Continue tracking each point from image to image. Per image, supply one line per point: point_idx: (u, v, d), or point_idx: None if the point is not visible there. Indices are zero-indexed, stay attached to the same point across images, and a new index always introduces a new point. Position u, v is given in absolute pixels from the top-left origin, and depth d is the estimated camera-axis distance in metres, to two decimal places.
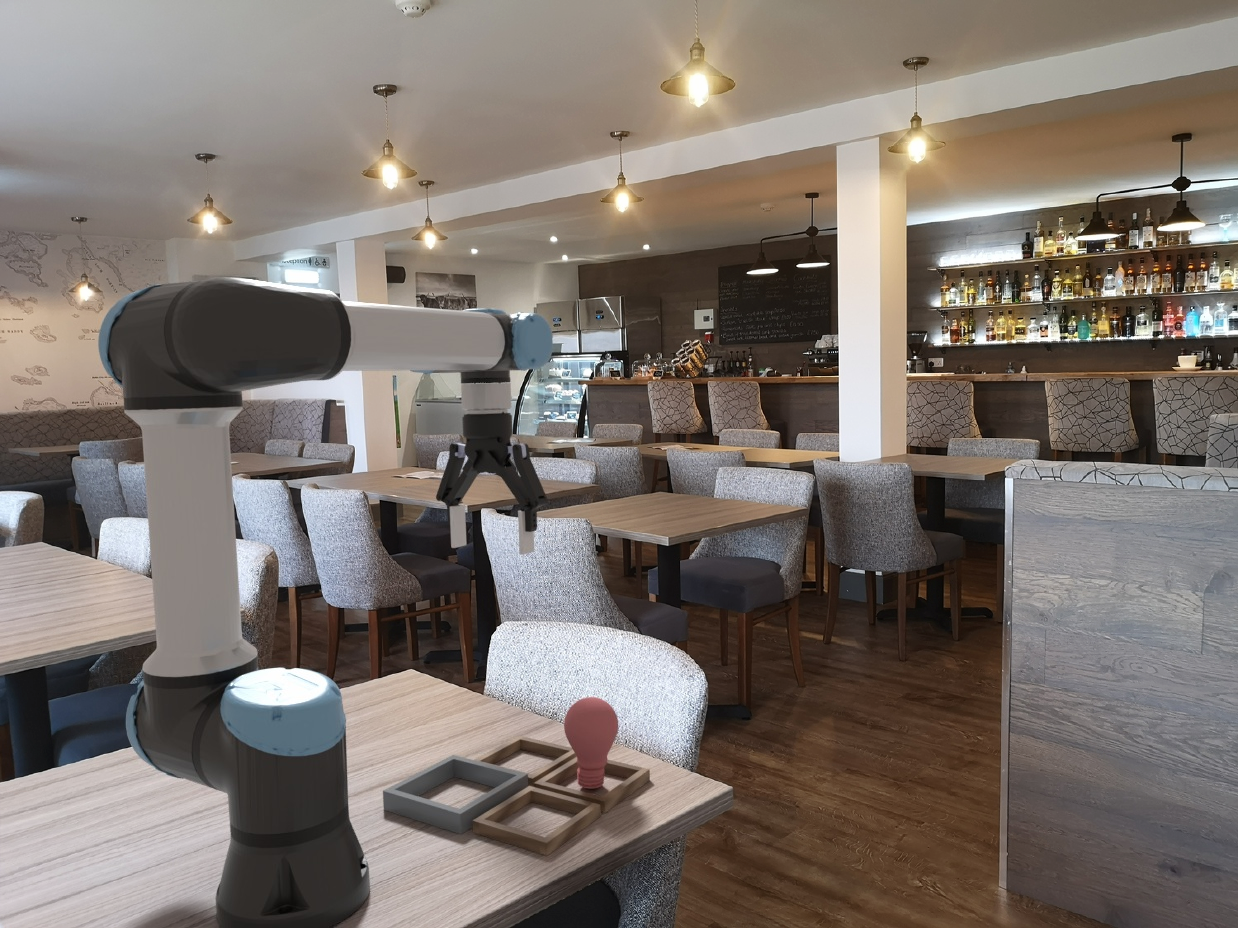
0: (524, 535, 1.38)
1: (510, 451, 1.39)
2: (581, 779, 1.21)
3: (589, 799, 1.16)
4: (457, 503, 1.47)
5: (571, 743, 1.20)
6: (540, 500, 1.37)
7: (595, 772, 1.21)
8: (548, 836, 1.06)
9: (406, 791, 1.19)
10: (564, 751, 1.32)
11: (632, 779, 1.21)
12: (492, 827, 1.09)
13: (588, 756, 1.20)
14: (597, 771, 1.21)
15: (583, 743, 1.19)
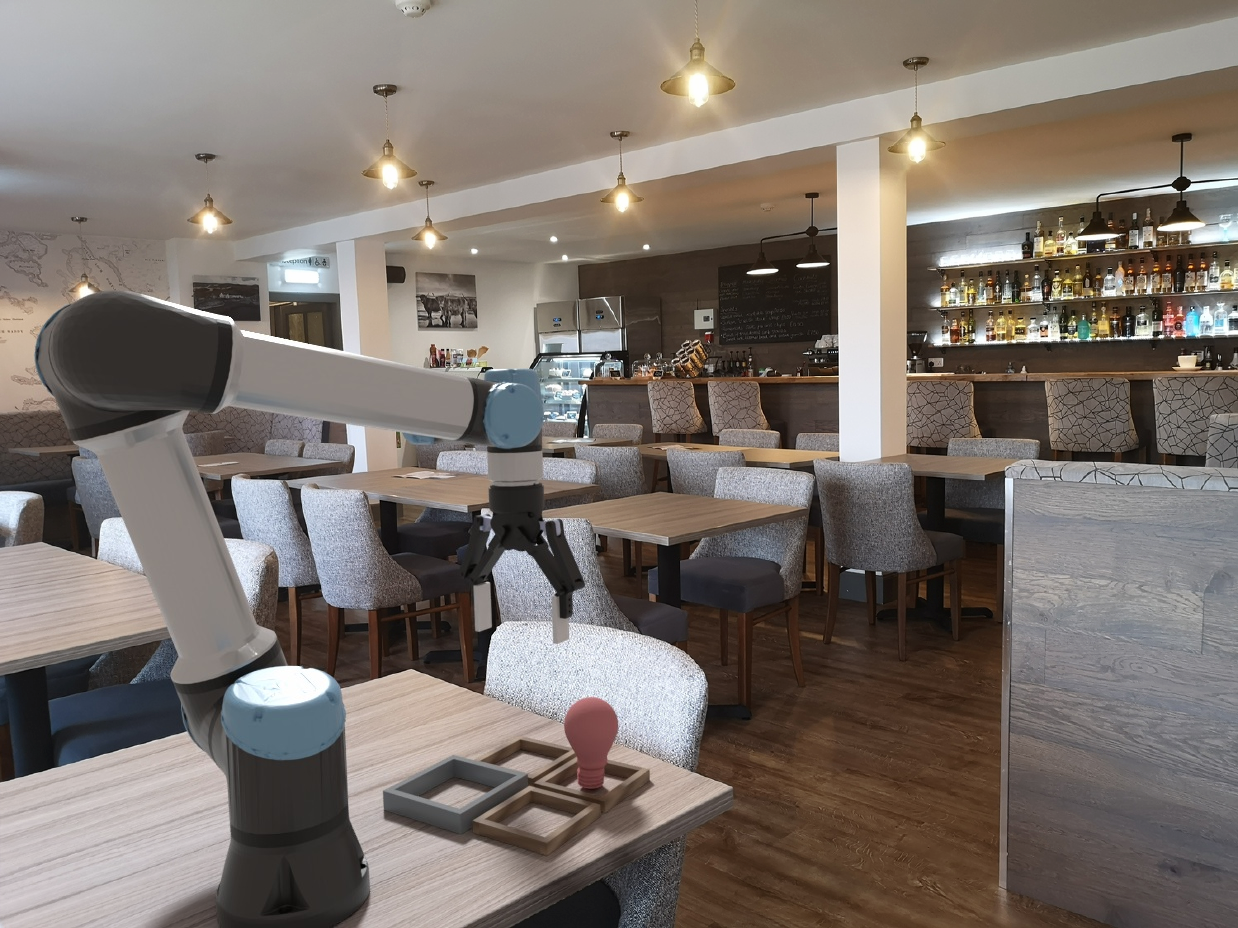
0: (558, 622, 1.23)
1: (542, 527, 1.24)
2: (581, 779, 1.21)
3: (589, 799, 1.16)
4: (481, 581, 1.32)
5: (571, 743, 1.20)
6: (577, 584, 1.22)
7: (595, 772, 1.21)
8: (548, 836, 1.06)
9: (406, 791, 1.19)
10: (564, 751, 1.32)
11: (632, 779, 1.21)
12: (492, 827, 1.09)
13: (588, 756, 1.20)
14: (597, 771, 1.21)
15: (583, 743, 1.19)
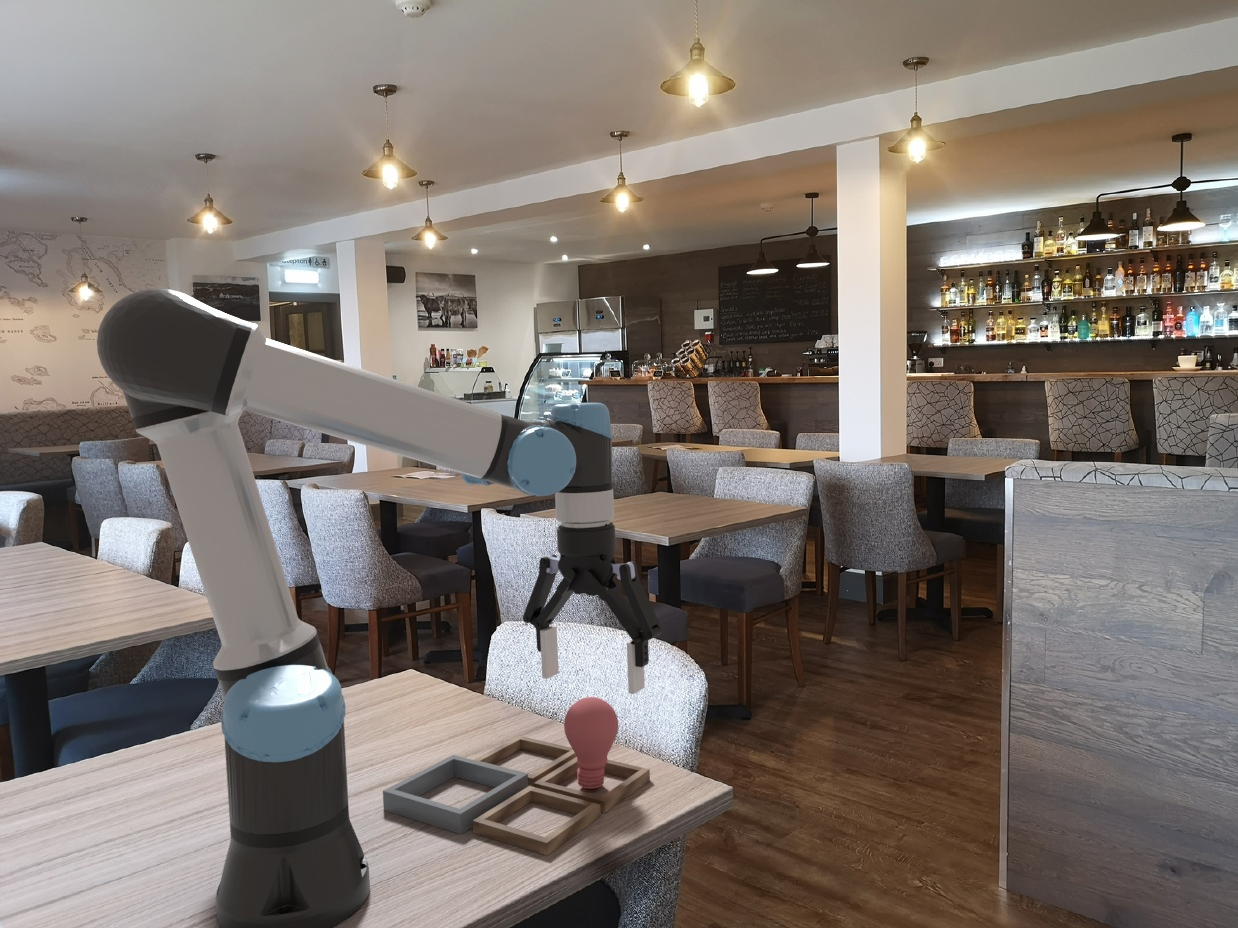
0: (634, 671, 1.17)
1: (615, 571, 1.17)
2: (581, 779, 1.21)
3: (589, 799, 1.16)
4: (548, 625, 1.25)
5: (571, 743, 1.20)
6: (654, 631, 1.15)
7: (595, 772, 1.21)
8: (548, 836, 1.06)
9: (406, 791, 1.19)
10: (564, 751, 1.32)
11: (632, 779, 1.21)
12: (492, 827, 1.09)
13: (588, 756, 1.20)
14: (597, 771, 1.21)
15: (583, 743, 1.19)
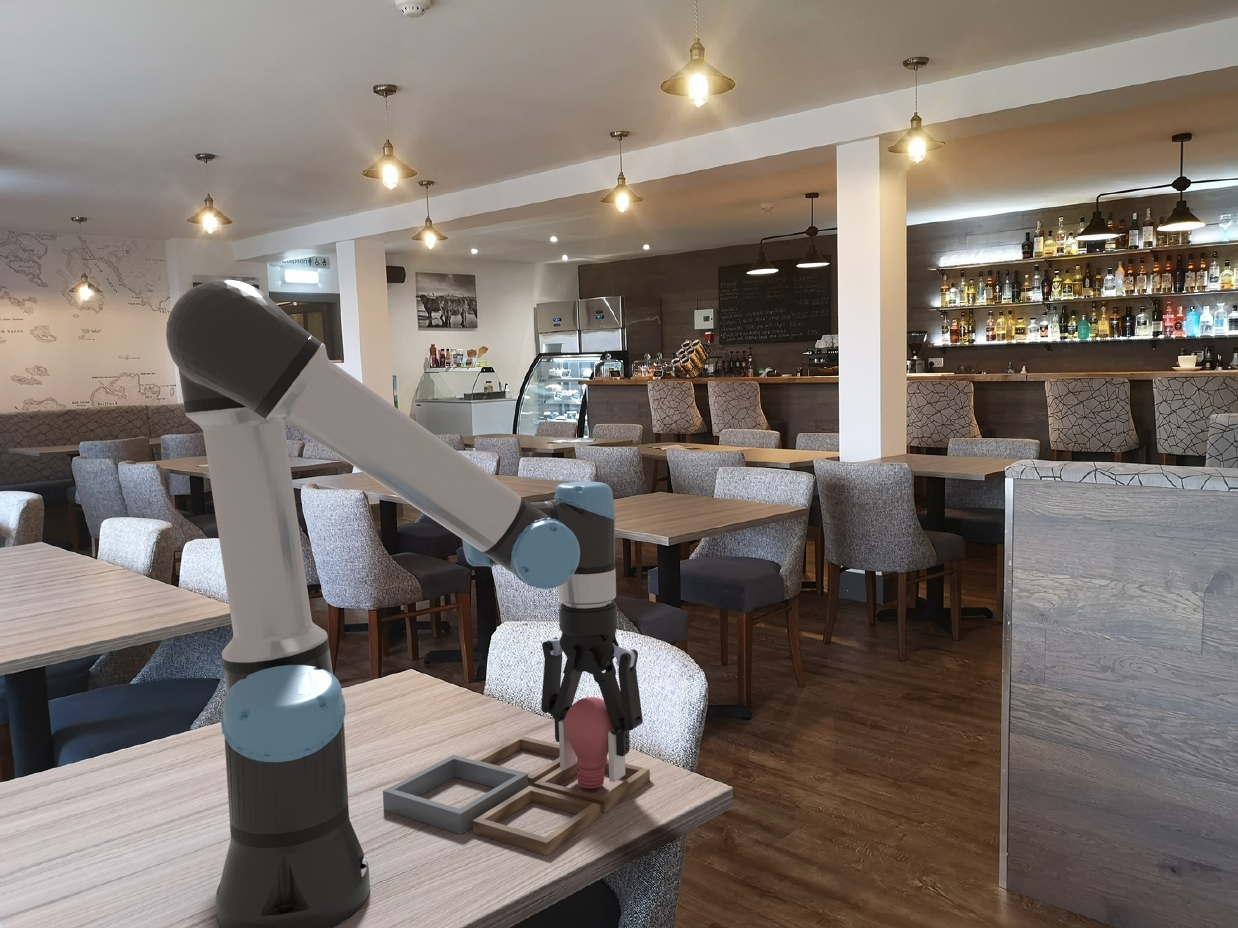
0: (615, 760, 1.19)
1: (616, 655, 1.18)
2: (581, 779, 1.21)
3: (589, 799, 1.16)
4: None
5: (571, 743, 1.20)
6: (635, 723, 1.18)
7: (595, 772, 1.21)
8: (548, 836, 1.06)
9: (406, 791, 1.19)
10: None
11: (632, 779, 1.21)
12: (492, 827, 1.09)
13: (588, 756, 1.20)
14: (597, 771, 1.21)
15: (583, 743, 1.19)
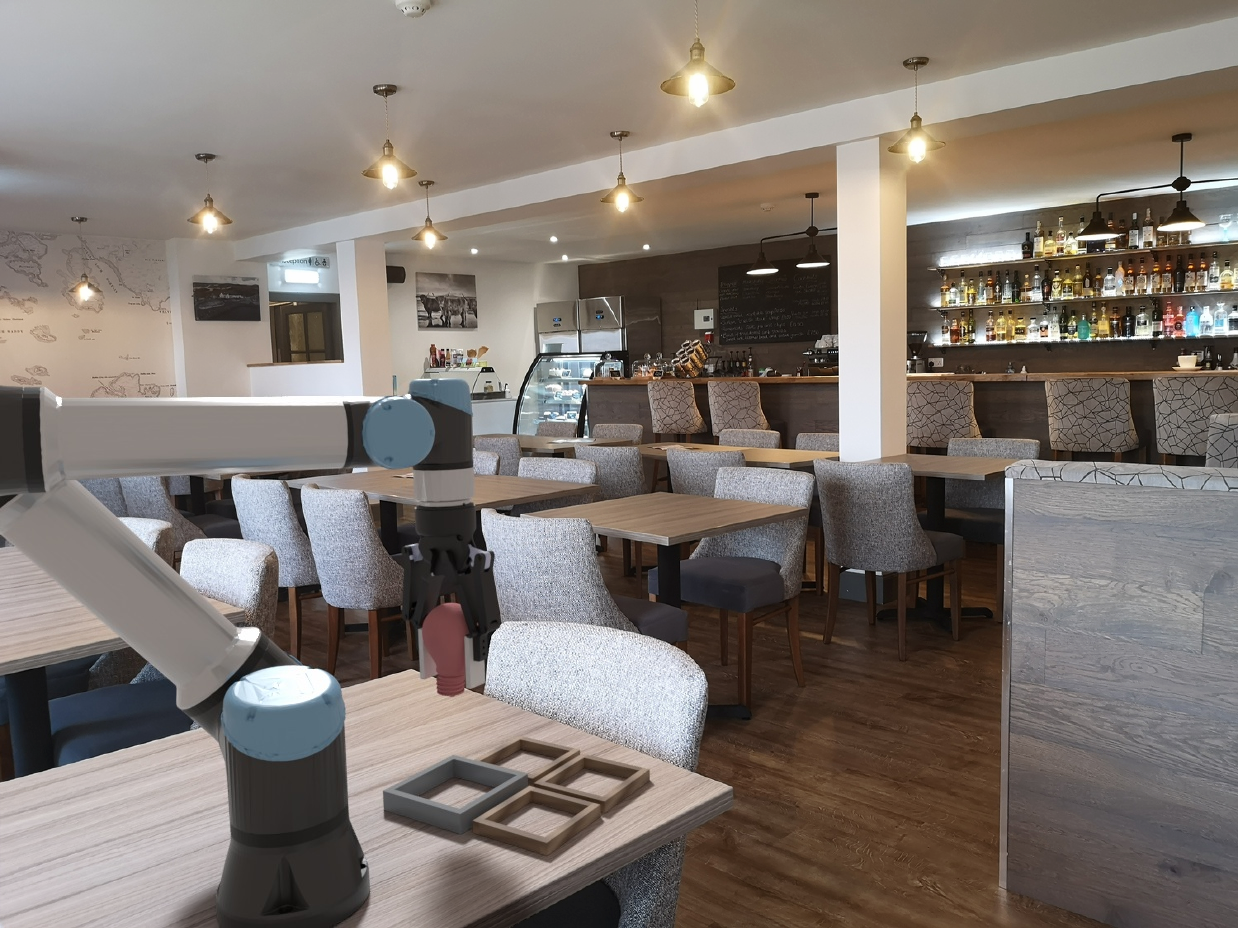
0: (471, 666, 1.15)
1: (472, 556, 1.14)
2: (439, 687, 1.17)
3: (589, 799, 1.16)
4: None
5: (428, 649, 1.16)
6: (491, 626, 1.13)
7: (453, 679, 1.16)
8: (548, 836, 1.06)
9: (406, 791, 1.19)
10: (564, 751, 1.32)
11: (632, 779, 1.21)
12: (492, 827, 1.09)
13: (445, 662, 1.16)
14: (455, 678, 1.16)
15: (438, 647, 1.15)
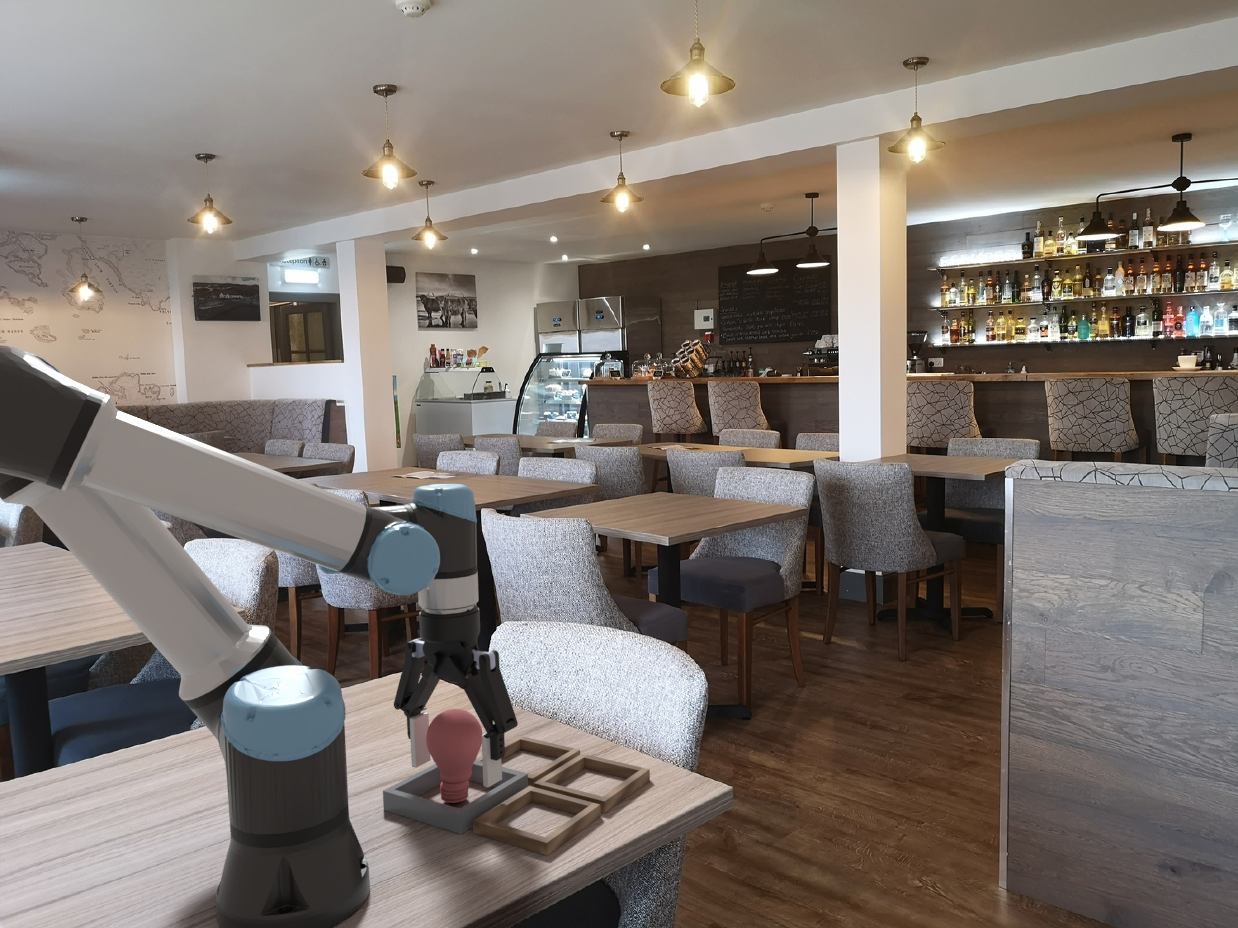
0: (488, 764, 1.15)
1: (476, 659, 1.15)
2: (443, 793, 1.18)
3: (589, 799, 1.16)
4: (419, 711, 1.22)
5: (432, 756, 1.17)
6: (508, 725, 1.13)
7: (457, 786, 1.18)
8: (548, 836, 1.06)
9: (406, 791, 1.19)
10: (564, 751, 1.32)
11: (632, 779, 1.21)
12: (492, 827, 1.09)
13: (449, 769, 1.17)
14: (459, 784, 1.18)
15: (442, 756, 1.16)
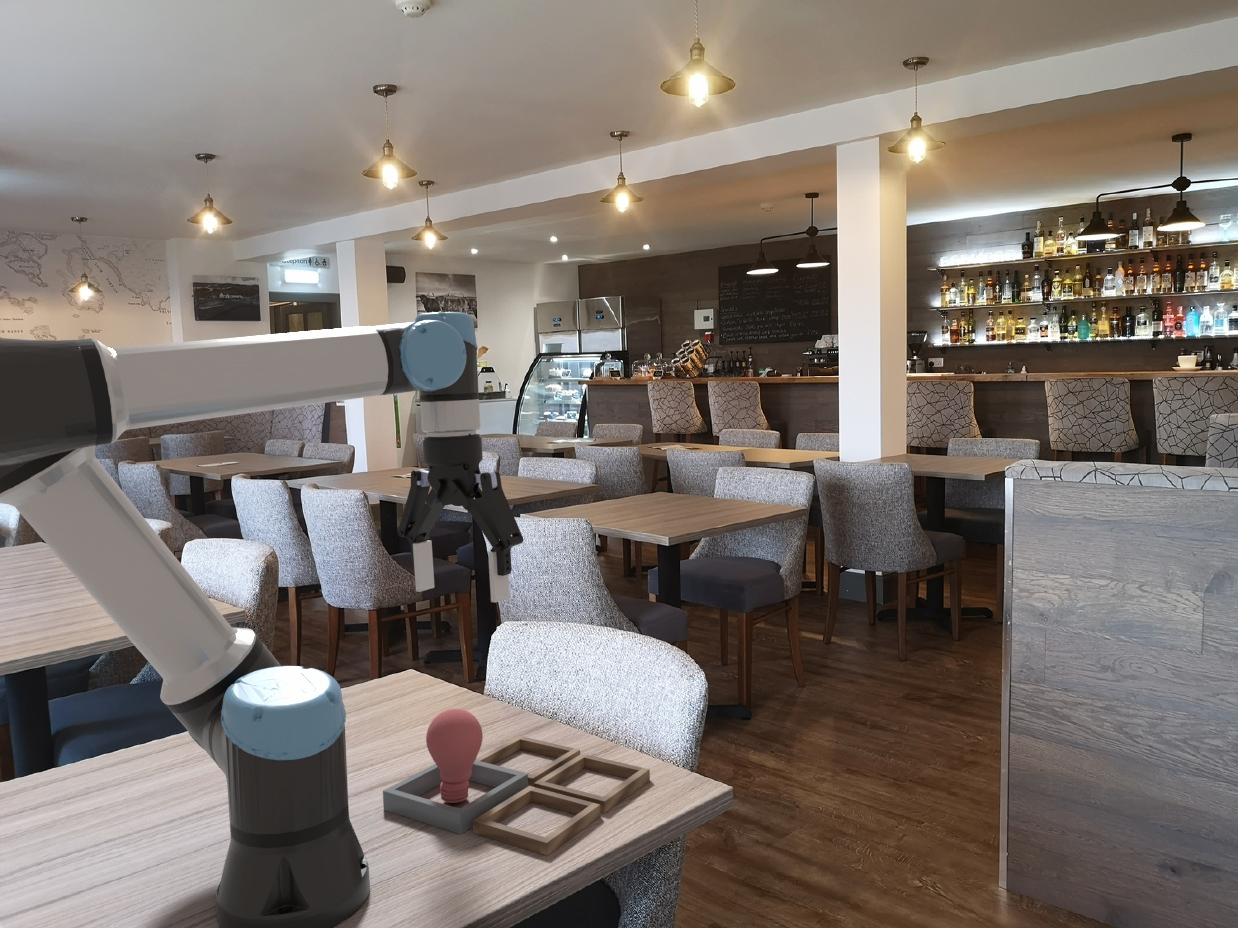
0: (495, 580, 1.17)
1: (478, 480, 1.18)
2: (443, 793, 1.18)
3: (589, 799, 1.16)
4: (422, 539, 1.26)
5: (432, 756, 1.17)
6: (513, 539, 1.15)
7: (457, 786, 1.18)
8: (548, 836, 1.06)
9: (406, 791, 1.19)
10: (564, 751, 1.32)
11: (632, 779, 1.21)
12: (492, 827, 1.09)
13: (449, 769, 1.17)
14: (459, 784, 1.18)
15: (442, 756, 1.16)
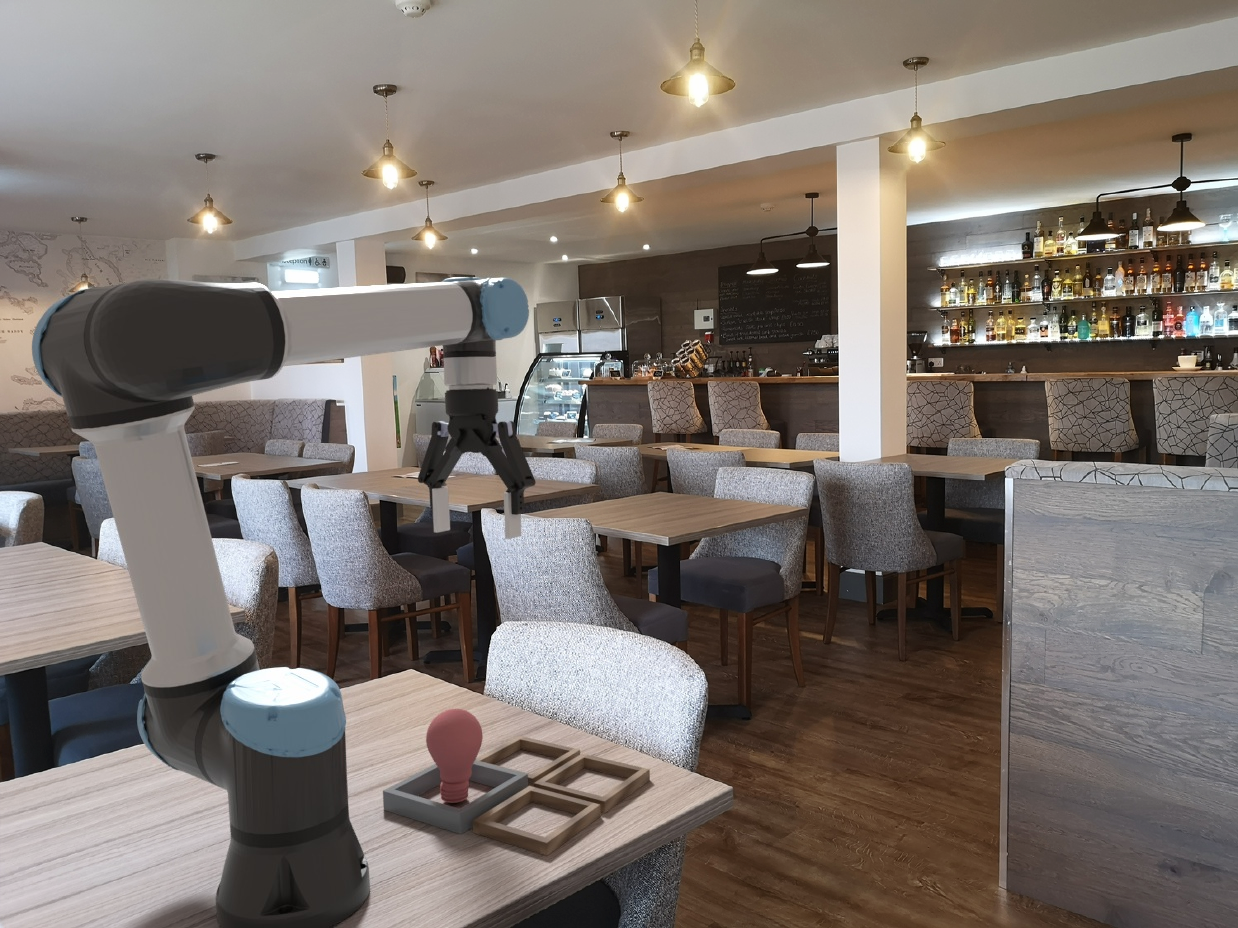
0: (510, 518, 1.30)
1: (495, 429, 1.31)
2: (443, 793, 1.18)
3: (589, 799, 1.16)
4: (440, 485, 1.39)
5: (432, 756, 1.17)
6: (527, 481, 1.29)
7: (457, 786, 1.18)
8: (548, 836, 1.06)
9: (406, 791, 1.19)
10: (564, 751, 1.32)
11: (632, 779, 1.21)
12: (492, 827, 1.09)
13: (449, 769, 1.17)
14: (459, 784, 1.18)
15: (442, 756, 1.16)
